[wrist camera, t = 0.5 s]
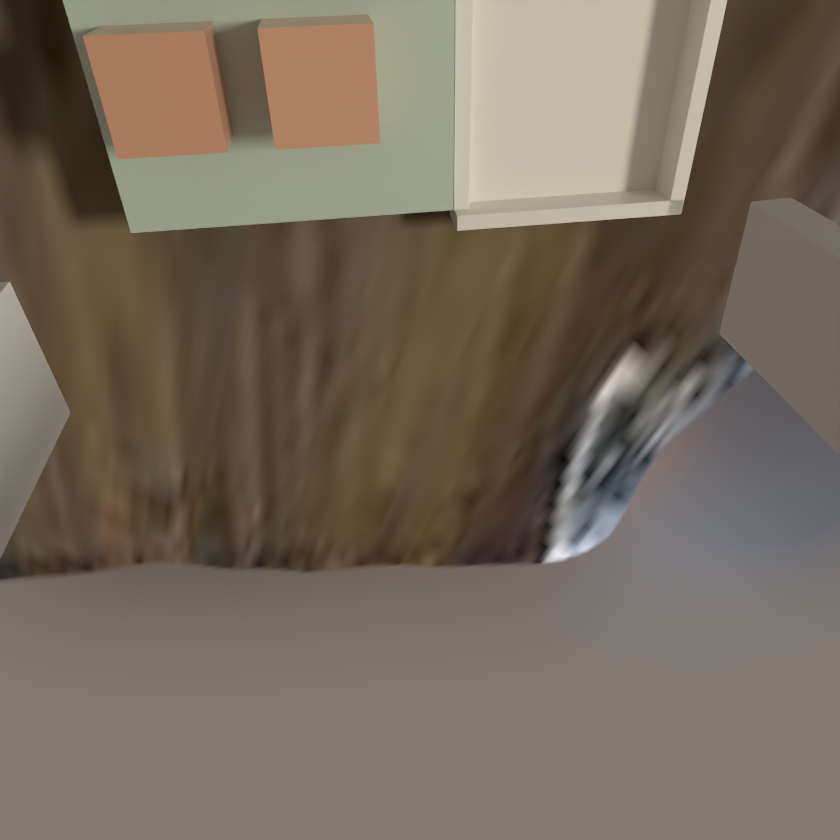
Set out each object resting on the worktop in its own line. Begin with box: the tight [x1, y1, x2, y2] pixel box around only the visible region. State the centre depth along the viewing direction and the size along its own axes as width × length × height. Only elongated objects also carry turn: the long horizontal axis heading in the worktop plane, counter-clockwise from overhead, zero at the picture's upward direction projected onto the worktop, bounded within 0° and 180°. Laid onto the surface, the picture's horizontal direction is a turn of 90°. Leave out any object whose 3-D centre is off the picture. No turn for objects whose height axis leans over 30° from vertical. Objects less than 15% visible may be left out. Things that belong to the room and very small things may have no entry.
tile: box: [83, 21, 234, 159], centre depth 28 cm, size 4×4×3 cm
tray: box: [449, 0, 727, 231], centre depth 33 cm, size 16×13×2 cm
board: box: [63, 0, 455, 233], centre depth 31 cm, size 13×16×4 cm
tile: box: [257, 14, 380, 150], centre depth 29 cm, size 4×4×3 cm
